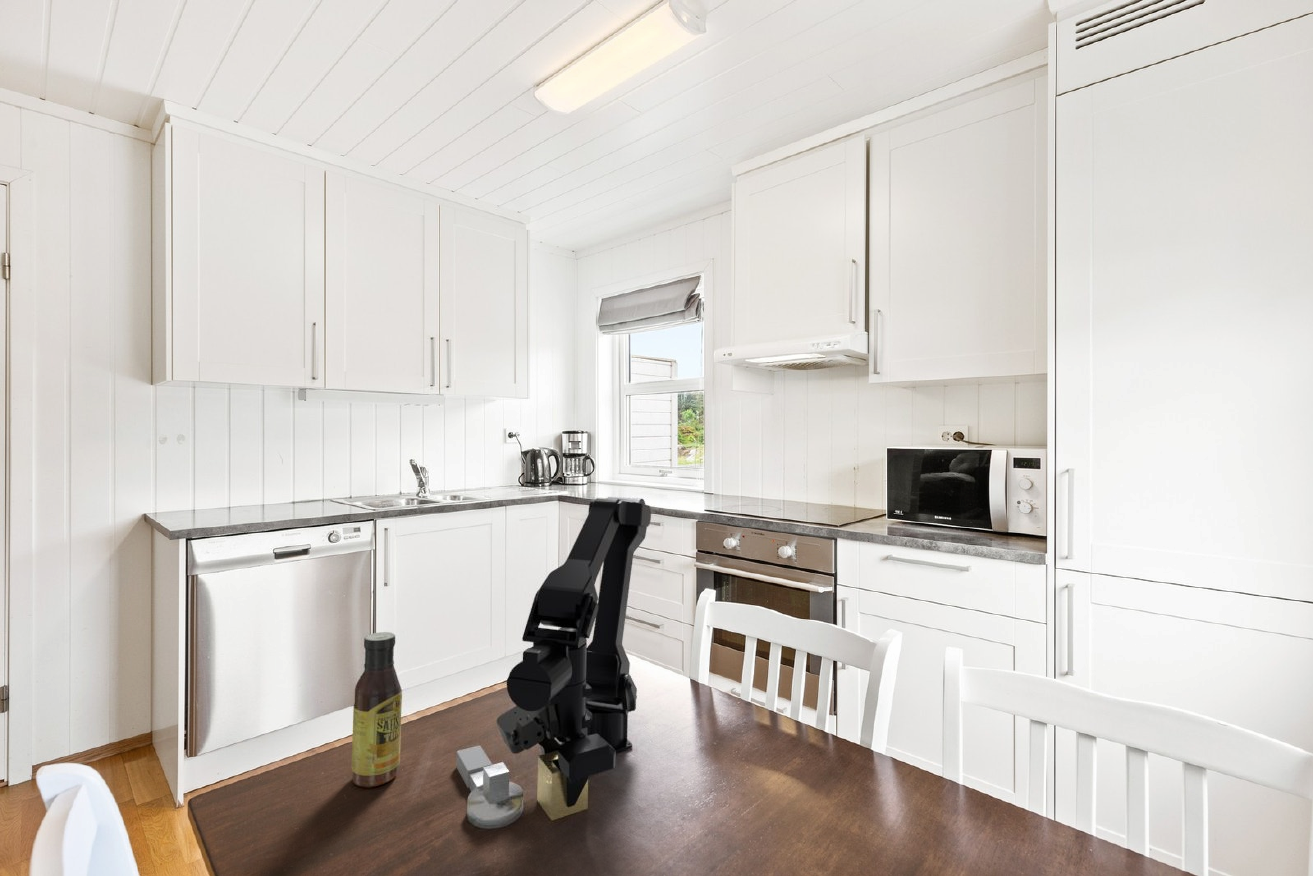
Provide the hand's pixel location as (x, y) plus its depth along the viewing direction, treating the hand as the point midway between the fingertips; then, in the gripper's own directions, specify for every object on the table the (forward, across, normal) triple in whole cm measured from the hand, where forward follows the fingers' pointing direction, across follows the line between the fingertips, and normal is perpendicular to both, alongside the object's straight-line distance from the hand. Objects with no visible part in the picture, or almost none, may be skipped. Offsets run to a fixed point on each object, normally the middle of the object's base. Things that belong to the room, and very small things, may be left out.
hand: (562, 795), depth 83 cm
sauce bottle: (+1, -19, -20) cm, 28 cm away
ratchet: (+1, -8, -8) cm, 11 cm away
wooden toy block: (+1, 0, 0) cm, 1 cm away
